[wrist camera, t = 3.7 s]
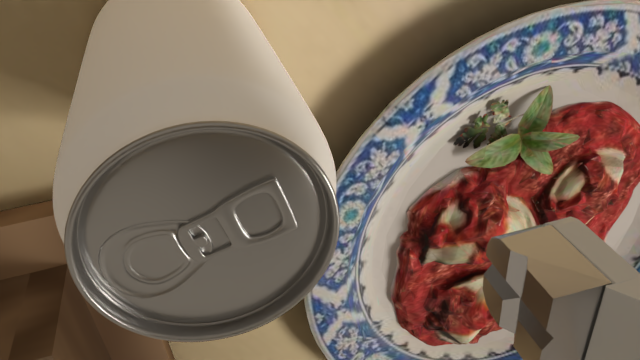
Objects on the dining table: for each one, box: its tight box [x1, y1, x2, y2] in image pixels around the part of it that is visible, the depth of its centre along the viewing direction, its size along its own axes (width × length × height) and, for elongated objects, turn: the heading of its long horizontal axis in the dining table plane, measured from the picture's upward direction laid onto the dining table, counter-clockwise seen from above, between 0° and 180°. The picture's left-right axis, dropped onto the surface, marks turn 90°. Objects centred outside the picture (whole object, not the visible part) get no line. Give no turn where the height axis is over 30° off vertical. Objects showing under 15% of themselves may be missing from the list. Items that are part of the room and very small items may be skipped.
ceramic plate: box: [304, 0, 640, 360], centre depth 30 cm, size 26×26×3 cm
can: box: [53, 0, 340, 342], centre depth 16 cm, size 6×6×12 cm
